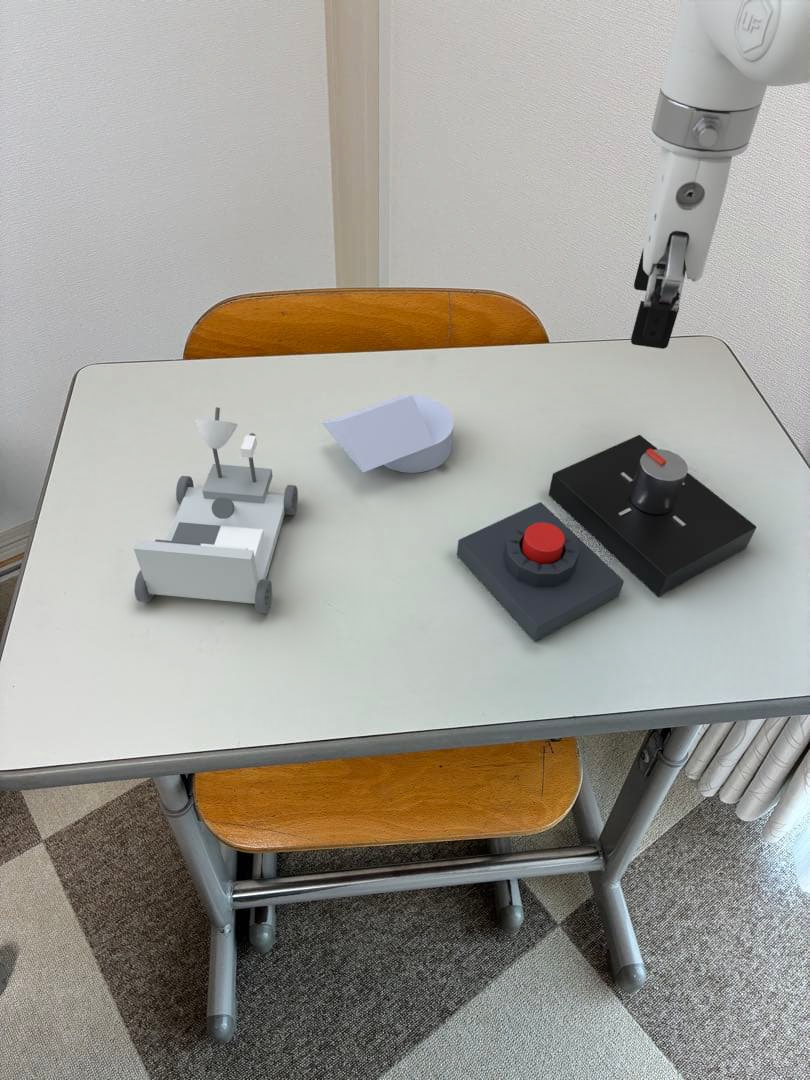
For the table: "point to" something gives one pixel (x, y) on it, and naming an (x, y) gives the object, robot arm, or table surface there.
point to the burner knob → (658, 481)
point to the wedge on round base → (396, 434)
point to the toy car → (218, 531)
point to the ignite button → (543, 543)
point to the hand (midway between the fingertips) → (649, 316)
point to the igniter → (538, 573)
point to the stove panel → (649, 518)
